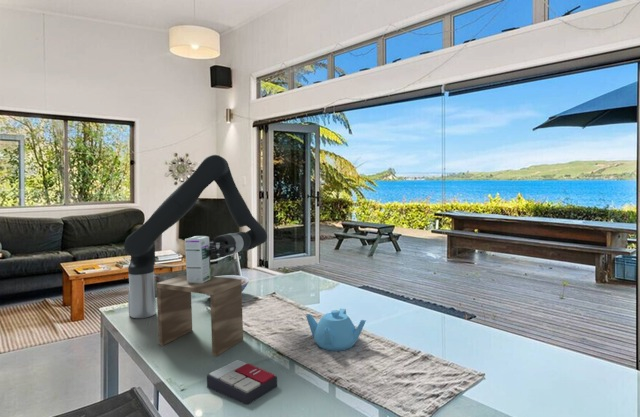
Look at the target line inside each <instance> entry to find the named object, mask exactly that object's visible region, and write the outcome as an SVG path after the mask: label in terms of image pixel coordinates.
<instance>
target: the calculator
mask: <svg viewBox="0 0 640 417" xmlns="http://www.w3.org/2000/svg"><path fill="white" fill-rule="evenodd" d="M277 387H278V376H276V375H275V374H274V373H271V372H269V371H267V370H264V369H262V368H260V367H258V366H255V365H253V364H251V363H247V362H245V361H241V360H239V359H236V360H234V361H232V362H230V363H228V364H225V365H224V366H222V367H220V368H217V369H216V370H213V371H211V372H210V373H208V374H206V388H208V389H210V390H212V391H215V392H217V393H220V394H222V395H224V396H226V397H229V398H230V399H232V400H235V401H237V402H240V403H241V404H244V405H246V406H247V405H249V404H251V403H253V402H255V401H256V400H257V399H259V398H261V397H263V396H264V395H265V394H267V393H269V392H270V391H272V390H274V389H275V388H277Z"/></svg>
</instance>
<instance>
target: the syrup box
mask: <svg viewBox="0 0 640 417" xmlns="http://www.w3.org/2000/svg"><path fill="white" fill-rule="evenodd" d="M209 242H210V236H207V235H194V236H192V237H191V236H190V237H188V238H185V239H184V249H185V250H184V251H185V267H186V268H185V269H186V271H185V272H186V274H187V282H188V283H204V282H206V281H208V280H210V279H211V276H212V269H211V268H212V266H211V264H212V263H211V256H210V257H208V256H207V250H208V249H210V245H209Z"/></svg>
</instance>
